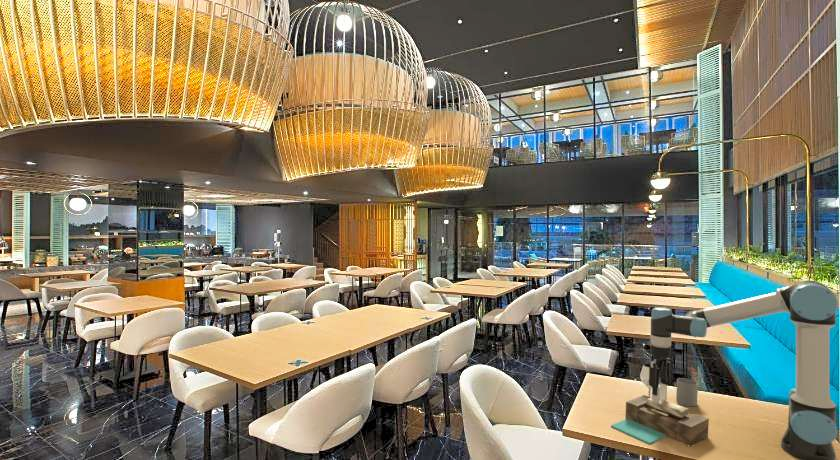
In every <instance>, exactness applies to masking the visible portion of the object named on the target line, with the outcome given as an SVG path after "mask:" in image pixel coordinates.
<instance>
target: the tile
mask: <svg viewBox="0 0 840 460" xmlns="http://www.w3.org/2000/svg"><path fill="white" fill-rule="evenodd" d="M647 405H648V406H651V407H654V408H657V409H659V410H662V411H665V412H667V413H670V414H673V415H676V416H678V417H681V418H682V417H684V416H686V415H688V414H689V408H687V407H685V406H683V405H679V404H676V403H673V402H671V401H668V400H666V401H665V400H662V399H660V400H659V404H658V403H655V402H652V396H650V398H648V399H647Z"/></svg>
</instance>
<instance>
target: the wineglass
mask: <svg viewBox="0 0 840 460" xmlns="http://www.w3.org/2000/svg"><path fill="white" fill-rule="evenodd" d="M639 379H640V380H641V382H642V383H643V384H644V385H645V386H646V387H647V389H648V393H647V394H648V395H647V396H648V397H651V391H652V386H650V385H649V363H644V364H643V365H642V368H641V371H640V375H639ZM659 383H661V379H660V380H659Z"/></svg>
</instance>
